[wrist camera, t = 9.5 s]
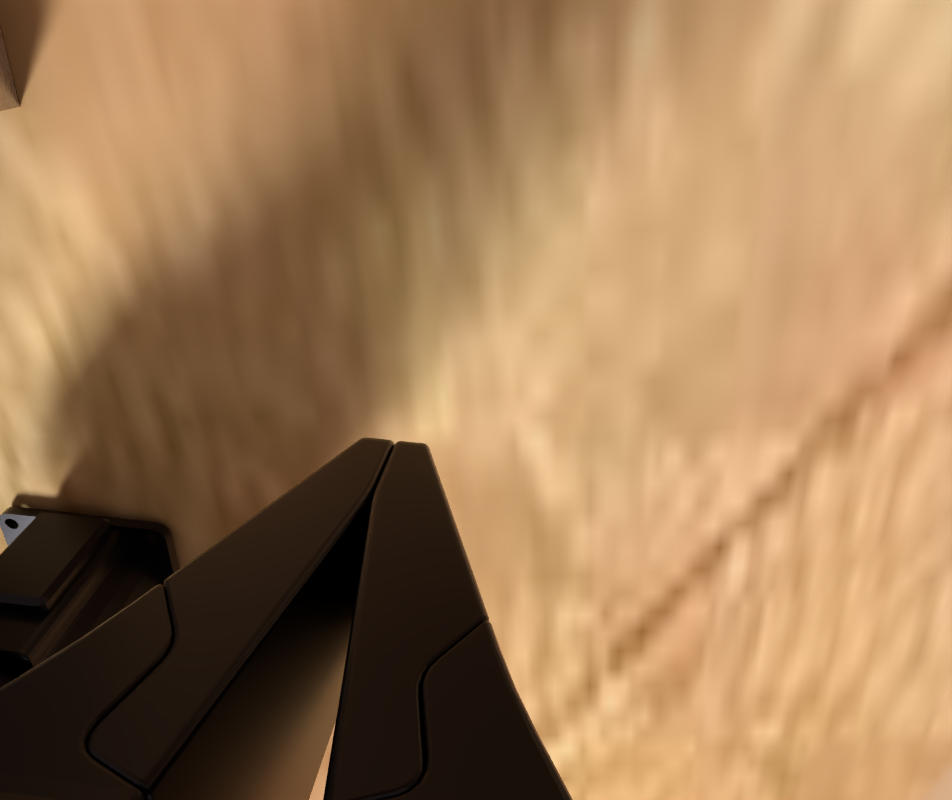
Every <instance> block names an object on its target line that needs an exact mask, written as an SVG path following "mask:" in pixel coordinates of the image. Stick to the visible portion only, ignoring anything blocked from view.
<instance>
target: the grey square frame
mask: <svg viewBox="0 0 952 800" xmlns="http://www.w3.org/2000/svg"><path fill="white" fill-rule="evenodd" d="M15 107H20V106H19V102H18V98H17V93H16V89H15V85H14V81H13V77H12V73H11V69H10V65H9V61H8V57H7V53H6V48H5V44H4V40H3V36H2V32H1V28H0V111H2V110H6V109H11V108H15Z"/></svg>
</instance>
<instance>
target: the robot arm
mask: <svg viewBox="0 0 952 800" xmlns="http://www.w3.org/2000/svg"><path fill="white" fill-rule="evenodd" d="M0 526H1V529H2V532H3V534H4V537H5V540H6V542H7V545H8V547H7V548H6V549H5V550H4V551H3V552H2V553H1V554H0V800H309V798H310V795H311V792H312V789H313V786H314V783H315V780H316V777H317V774H318V771H319V768H320V765H321V762H322V759H323V756H324V753H325V750H326V747H327V745H328V742H329V739H330V736H331V733H332V730H333V727H334V724H335V721H336V724H335V730H334V736H333V743H332V749H331V755H330V761H329V768H328V774H327V780H326V786H325V793H324V799H323V800H572V798H571V796H570V794H569V792H568V790H567V788H566V786H565V784H564V782H563V781H562V779H561V777H560V775H559V773H558V771H557V769H556V767H555V765H554V764H553V762H552V760H551V758H550V756H549V754H548V752H547V750H546V748H545V747H544V745H543V743H542V741H541V739H540V737H539V735H538V733H537V731H536V729H535V727H534V725H533V723H532V721H531V719H530V717H529V715H528V713H527V711H526V709H525V707H524V704H523V702H522V700H521V698H520V696H519V694H518V692H517V690H516V688H515V685H514V683H513V680H512V678H511V675H510V673H509V670H508V668H507V665H506V663H505V660H504V658H503V655H502V653H501V650H500V647H499V645H498V642H497V639H496V636H495V633H494V630H493V628H492V625H491V623H490V622H489V617H488V614H487V612H486V609H485V606H484V603H483V600H482V597H481V594H480V592H479V589H478V586H477V583H476V580H475V577H474V575H473V572H472V569H471V566H470V563H469V560H468V557H467V555H466V552H465V549H464V546H463V543H462V540H461V537H460V535H459V532H458V529H457V526H456V523H455V520H454V517H453V515H452V512H451V509H450V506H449V503H448V500H447V498H446V495H445V492H444V489H443V486H442V483H441V480H440V478H439V475H438V472H437V469H436V466H435V463H434V460H433V458H432V455H431V452H430V449H429V447H428V446H427V445H426V444H424V443H414V442H404V441H399V442H397V443H396V444H395V445H394V442H393V441H391V440H385V439H376V438H362V439H360V440H358V441H357V442H356V443H354V444H353V445H351V446H350V447H349V448H347V449H346V450H344V451H343V452H342V453H340V454H339V455H337V456H336V457H335V458H333V459H332V460H331V461H329V462H328V463H326V464H325V465H324V466H322V467H321V468H319V469H318V470H317V471H315V472H314V473H313V474H311V475H310V476H308V477H307V478H306V479H304V480H303V481H301V482H300V483H299V484H297V485H296V486H294V487H293V488H292V489H290V490H289V491H288V492H286V493H285V494H283V495H282V496H281V497H279V498H278V499H276V500H275V501H274V502H272V503H271V504H269V505H268V506H267V507H265V508H264V509H263V510H261V511H260V512H258V513H257V514H256V515H254V516H253V517H251V518H250V519H249V520H247V521H246V522H244V523H243V524H242V525H240V526H239V527H238V528H236V529H235V530H233V531H232V532H231V533H229V534H228V535H226V536H225V537H224V538H222V539H221V540H219V541H218V542H217V543H215V544H214V545H213V546H211V547H210V548H208V549H207V550H206V551H204V552H203V553H201V554H200V555H199V556H197V557H196V558H194V559H193V560H192V561H190V562H189V563H188V564H186V565H185V566H183V567H182V568H181V569H179V568H178V563H177V559H176V554H175V549H174V545H173V540H172V535H171V532H170V530H169V529H168V528H167V527H166V526H164V525H163V524H160V523H157V522H148V521H139V520H130V519H121V518H112V517H103V516H93V515H84V514H75V513H66V512H57V511H48V510H39V509H30V508H21V507H10V508H8V509H6V510H5V511H4V512H3V513H2V514H1V515H0ZM155 535H156V536H157V537H156V536H155Z"/></svg>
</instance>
